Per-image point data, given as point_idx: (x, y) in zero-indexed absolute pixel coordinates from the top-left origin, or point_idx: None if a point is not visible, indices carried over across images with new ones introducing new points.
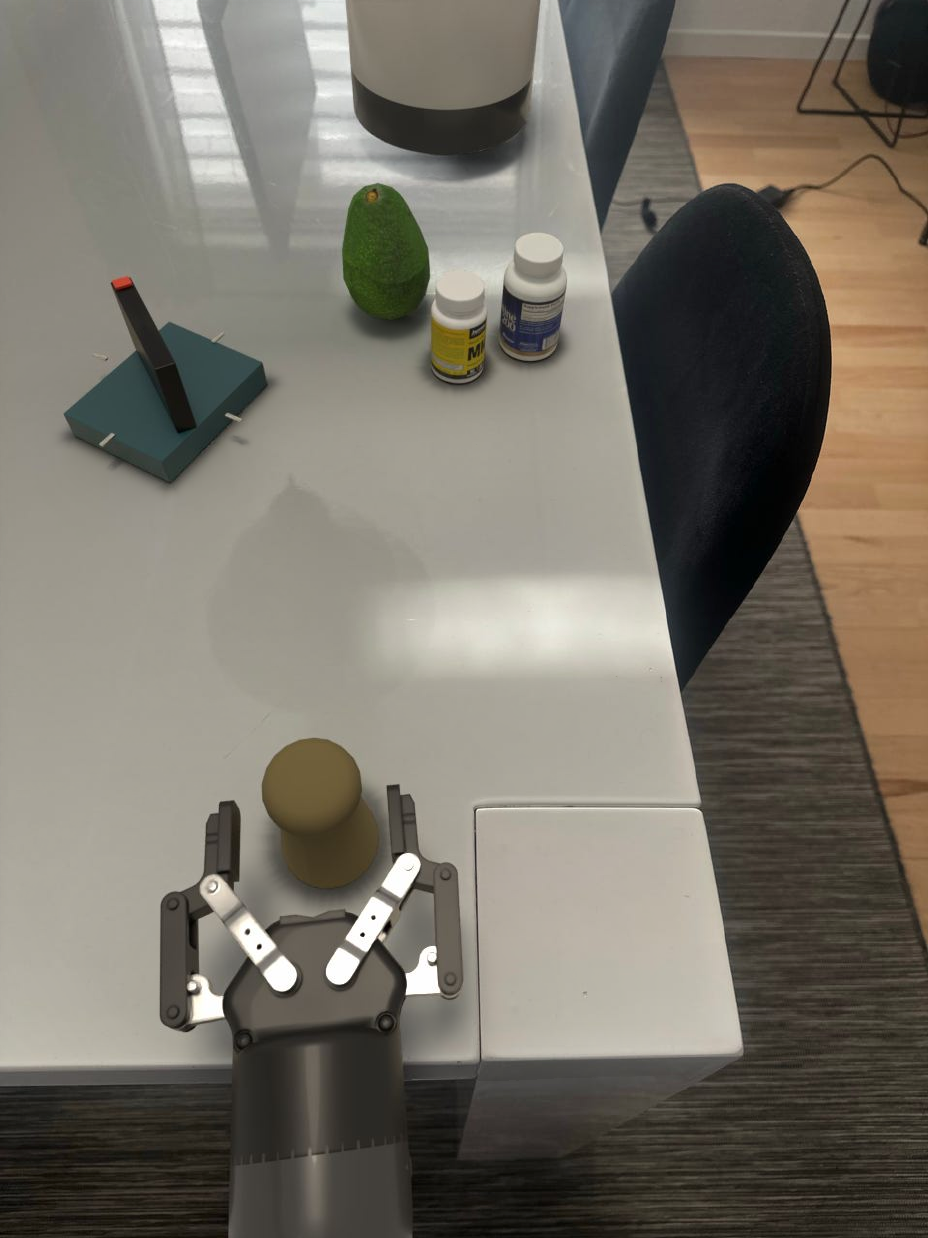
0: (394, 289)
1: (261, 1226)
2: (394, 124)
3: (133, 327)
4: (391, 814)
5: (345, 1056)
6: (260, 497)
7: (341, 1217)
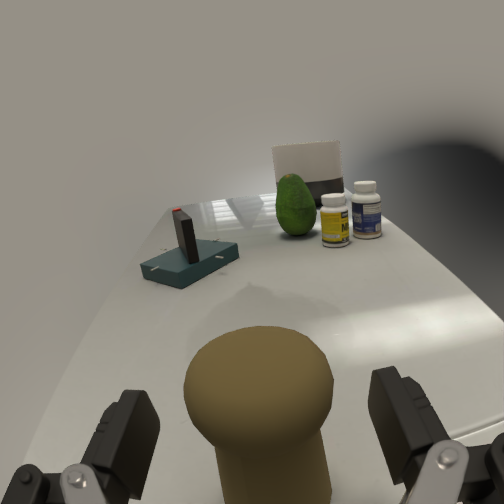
0: (301, 211)
1: None
2: None
3: (176, 215)
4: (394, 397)
5: None
6: (230, 290)
7: None
